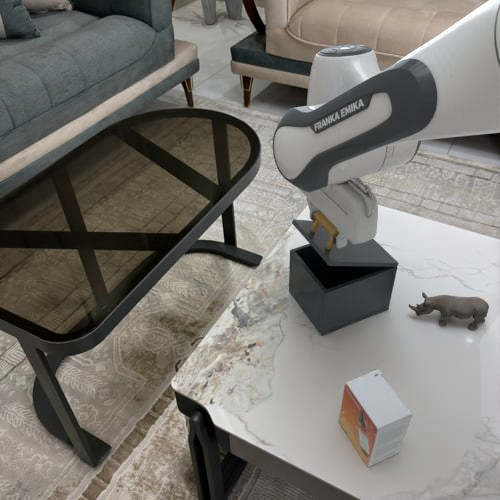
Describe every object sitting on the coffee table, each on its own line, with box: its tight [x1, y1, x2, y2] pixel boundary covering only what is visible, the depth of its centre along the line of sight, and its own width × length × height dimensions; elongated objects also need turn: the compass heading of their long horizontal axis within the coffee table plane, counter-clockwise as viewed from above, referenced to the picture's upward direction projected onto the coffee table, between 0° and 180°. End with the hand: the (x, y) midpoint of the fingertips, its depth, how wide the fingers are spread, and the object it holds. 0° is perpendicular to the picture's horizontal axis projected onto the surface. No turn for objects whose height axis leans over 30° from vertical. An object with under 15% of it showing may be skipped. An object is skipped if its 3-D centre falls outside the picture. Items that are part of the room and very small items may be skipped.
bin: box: [288, 242, 398, 337], centre depth 92 cm, size 14×12×11 cm
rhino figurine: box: [408, 291, 490, 331], centre depth 88 cm, size 4×14×6 cm, turn 79°
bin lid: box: [291, 210, 400, 268], centre depth 85 cm, size 15×12×5 cm
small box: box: [338, 368, 413, 468], centre depth 70 cm, size 8×6×10 cm
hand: (327, 232), depth 82 cm, fingers closed on bin lid, 6 cm apart
